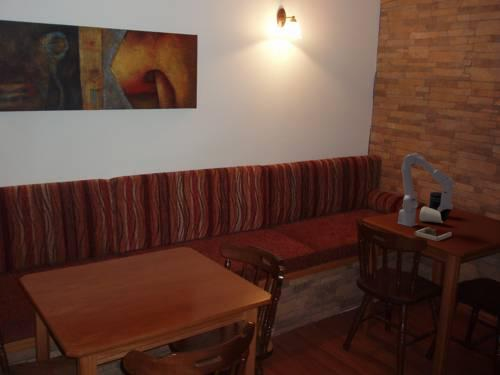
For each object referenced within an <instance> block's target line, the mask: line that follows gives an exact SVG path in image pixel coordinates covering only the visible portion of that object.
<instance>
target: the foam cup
mask: <svg viewBox="0 0 500 375" xmlns="http://www.w3.org/2000/svg"><path fill="white" fill-rule="evenodd" d="M419 221H421V222H423V223H424V222H427V223H435V224H436V223H438V224H439V223H440V224H443V223H444V222H443V221H442V220H441V214H440V212H439V211H437V210H434V209H431V208H429V206H425V205H424V206H422V207H421V209H420V211H419Z"/></svg>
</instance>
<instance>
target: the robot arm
mask: <svg viewBox="0 0 500 375" xmlns="http://www.w3.org/2000/svg"><path fill="white" fill-rule="evenodd" d="M415 166H421V167H423V169H425V170H426V171H428V172H429V173H430V174H431V177H432V179H434V180H436V181H437V182H438V183H439V184H440V186H441V188H442V189H441V193H442V195H441V204H440V206H439V208H438V211H439V212H440V214H441V220H442V221H443V223H445V222H447V220H448V218H449V216H450V213H451V212H452V209H454V208H453V207H454V205H453V204H452V198H453V191H454V186H455V179H453V177H449V175H446V174H445V173H444V172H443V170H442V169H436V168H435V167H434V166H433V165H432V164H431V163H429V162H428V161H427V160H426V159H425V157H424V156H423V155H421V154H420V153H418V152H413V153H409V154H406V156H405V157H404V158H403V162H402V164H401V175H402V183H403V190H404V191H403V192H404V197H403V199H402V200H403V203H402V209H400V210H399V211H398V212H399V213H398V219H397V220H398V221H397V224H399V225H402V226H406V227H410V228H412V227H415V226H418V223H416V214H417V208H418V206H419V201H418V200H417V196H416V195H415V193H414V185H413V178H412V177H413V176H412V168H413V167H415Z"/></svg>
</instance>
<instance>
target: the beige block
mask: <svg viewBox="0 0 500 375" xmlns="http://www.w3.org/2000/svg"><path fill="white" fill-rule="evenodd" d="M428 227H429V228H427V227H425V228H426V229H425V233H424V234H428V235H432V236H435V237H437V236H436V234H437V228H434V227H433V228H432V227H431V226H428ZM430 227H431V228H430Z"/></svg>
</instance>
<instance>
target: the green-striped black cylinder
mask: <svg viewBox="0 0 500 375" xmlns="http://www.w3.org/2000/svg"><path fill="white" fill-rule="evenodd" d="M429 194H430V196H429V205H428V207H429V208H431V209H434V210H437V211H438V208H439V206H440V204H441V195H442V192H439V191H433V192H432V191H431V192H430V193H429Z"/></svg>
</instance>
